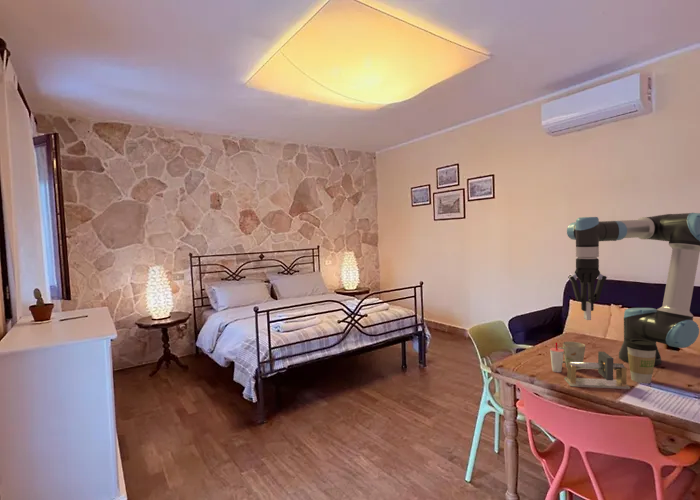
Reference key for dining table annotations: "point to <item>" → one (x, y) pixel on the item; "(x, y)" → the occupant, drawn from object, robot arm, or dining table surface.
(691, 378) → the dining table surface
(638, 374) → the coffee cup
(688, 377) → the dining table surface
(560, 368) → the cup
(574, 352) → the mug
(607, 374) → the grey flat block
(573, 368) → the metal rod stand
